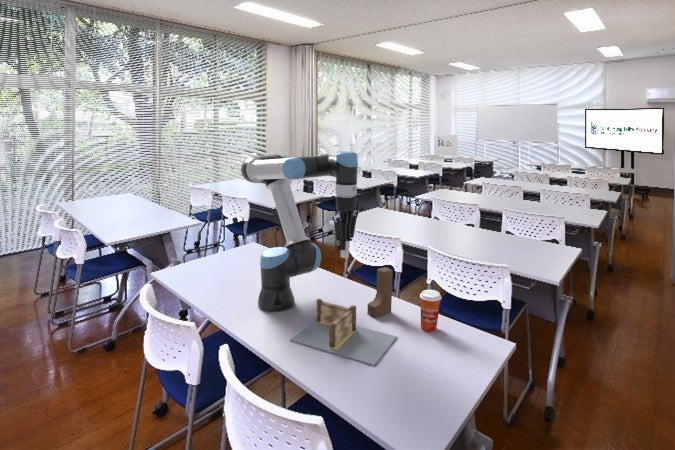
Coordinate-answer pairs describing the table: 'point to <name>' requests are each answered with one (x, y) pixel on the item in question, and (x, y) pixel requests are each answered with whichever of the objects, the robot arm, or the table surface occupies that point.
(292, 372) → the table surface
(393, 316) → the table surface
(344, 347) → the card
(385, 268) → the wooden block
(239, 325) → the table surface
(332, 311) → the fence fixed
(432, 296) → the paper cup
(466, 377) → the table surface
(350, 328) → the fence gate
